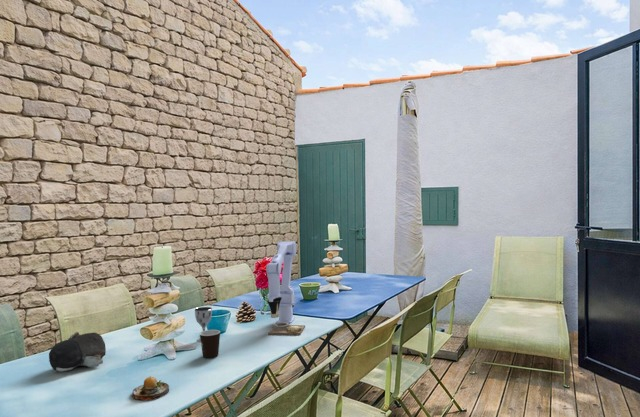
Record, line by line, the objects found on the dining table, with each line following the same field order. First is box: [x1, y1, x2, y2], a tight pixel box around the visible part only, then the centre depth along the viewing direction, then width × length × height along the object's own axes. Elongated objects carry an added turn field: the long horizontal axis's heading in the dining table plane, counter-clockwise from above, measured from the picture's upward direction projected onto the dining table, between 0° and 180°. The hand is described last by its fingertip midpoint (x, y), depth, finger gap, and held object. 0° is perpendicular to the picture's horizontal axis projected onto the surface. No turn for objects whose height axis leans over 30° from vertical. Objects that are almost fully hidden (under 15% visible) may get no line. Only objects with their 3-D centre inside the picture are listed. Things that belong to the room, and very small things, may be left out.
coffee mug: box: [199, 329, 221, 360], centre depth 189 cm, size 12×9×10 cm
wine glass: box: [194, 306, 213, 343], centre depth 210 cm, size 8×8×15 cm
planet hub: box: [270, 304, 279, 319], centre depth 223 cm, size 4×4×7 cm
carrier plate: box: [267, 322, 306, 336], centre depth 222 cm, size 14×16×3 cm
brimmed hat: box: [131, 375, 170, 402], centre depth 151 cm, size 12×12×8 cm
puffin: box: [48, 331, 107, 372], centre depth 178 cm, size 20×21×13 cm
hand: (275, 312), depth 223 cm, fingers closed on planet hub, 4 cm apart
